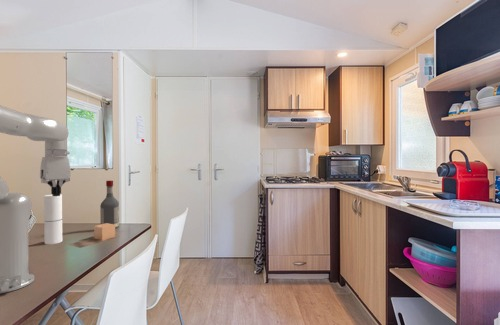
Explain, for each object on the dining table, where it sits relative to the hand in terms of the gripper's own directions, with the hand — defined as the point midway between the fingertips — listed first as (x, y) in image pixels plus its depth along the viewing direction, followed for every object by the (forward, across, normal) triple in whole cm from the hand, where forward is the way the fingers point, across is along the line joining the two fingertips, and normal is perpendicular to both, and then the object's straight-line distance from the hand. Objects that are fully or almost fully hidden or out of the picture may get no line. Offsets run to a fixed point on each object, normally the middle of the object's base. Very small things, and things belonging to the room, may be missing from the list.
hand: (56, 195), depth 113 cm
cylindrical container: (+27, -7, -20) cm, 34 cm away
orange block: (+26, -24, -4) cm, 36 cm away
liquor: (+27, -37, -20) cm, 50 cm away
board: (+27, -19, -4) cm, 34 cm away
